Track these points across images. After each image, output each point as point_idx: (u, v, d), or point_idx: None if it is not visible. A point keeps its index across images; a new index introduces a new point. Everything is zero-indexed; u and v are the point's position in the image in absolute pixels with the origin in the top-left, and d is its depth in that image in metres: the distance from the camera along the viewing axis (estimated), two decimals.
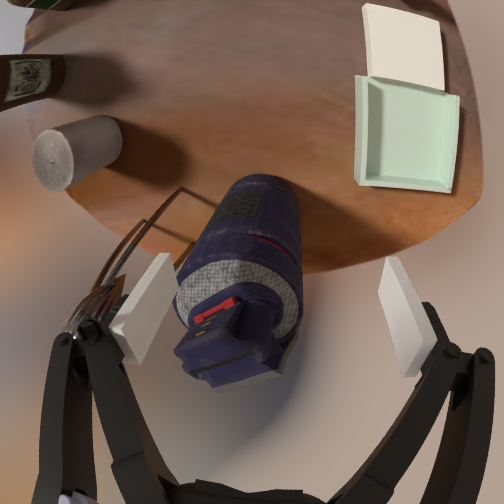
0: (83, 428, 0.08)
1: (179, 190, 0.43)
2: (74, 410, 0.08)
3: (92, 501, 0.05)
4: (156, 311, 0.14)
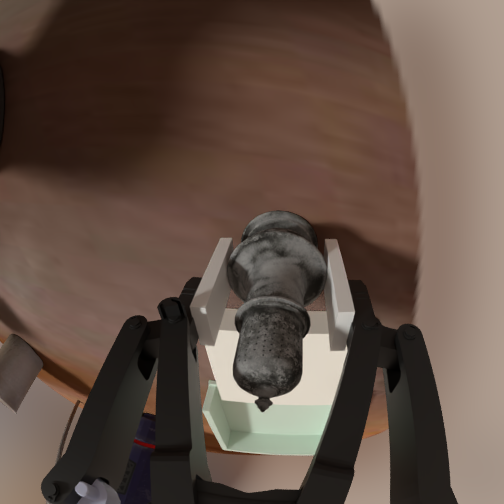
0: (130, 418, 0.09)
1: None
2: (126, 400, 0.09)
3: (112, 493, 0.05)
4: (224, 293, 0.16)
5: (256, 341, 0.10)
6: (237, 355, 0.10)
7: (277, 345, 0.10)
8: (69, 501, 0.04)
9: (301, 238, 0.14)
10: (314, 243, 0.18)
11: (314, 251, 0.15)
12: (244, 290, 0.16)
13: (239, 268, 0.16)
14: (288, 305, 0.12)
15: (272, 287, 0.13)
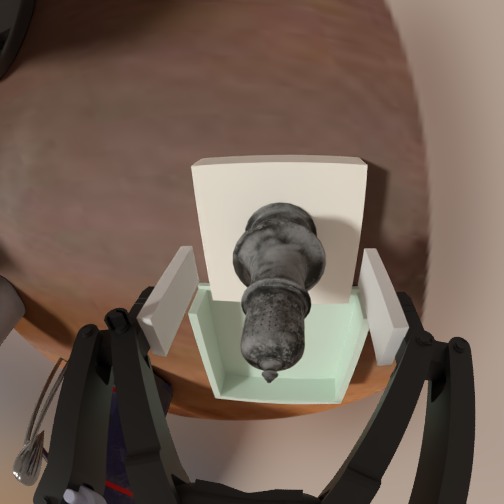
0: (98, 422, 0.08)
1: None
2: (92, 405, 0.08)
3: (99, 497, 0.05)
4: (180, 303, 0.15)
5: (262, 317, 0.12)
6: (245, 331, 0.12)
7: (282, 320, 0.11)
8: None
9: (302, 226, 0.16)
10: (314, 233, 0.19)
11: (314, 239, 0.16)
12: (249, 276, 0.17)
13: (244, 255, 0.17)
14: (291, 286, 0.13)
15: (276, 270, 0.14)
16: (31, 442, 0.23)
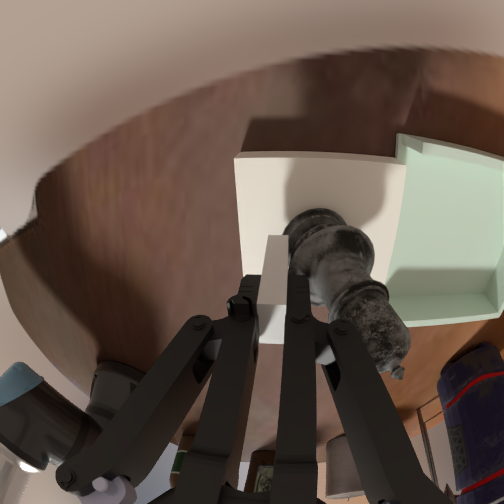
0: (171, 421, 0.09)
1: (419, 414, 0.36)
2: (172, 403, 0.09)
3: (131, 492, 0.06)
4: None
5: None
6: None
7: None
8: (82, 491, 0.05)
9: (295, 254, 0.15)
10: (314, 212, 0.18)
11: (309, 242, 0.15)
12: None
13: (319, 300, 0.17)
14: (338, 305, 0.12)
15: (327, 302, 0.14)
16: None
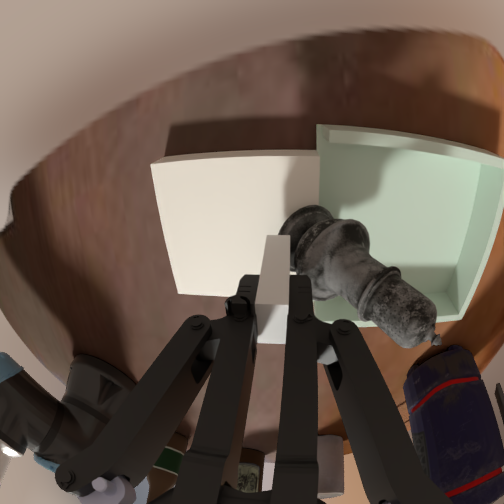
0: (170, 421, 0.09)
1: None
2: (171, 403, 0.09)
3: (130, 492, 0.06)
4: None
5: (390, 333, 0.12)
6: None
7: (397, 324, 0.11)
8: (82, 491, 0.05)
9: (307, 255, 0.15)
10: (306, 210, 0.18)
11: (320, 240, 0.15)
12: None
13: (328, 295, 0.17)
14: (368, 295, 0.13)
15: (350, 294, 0.14)
16: None
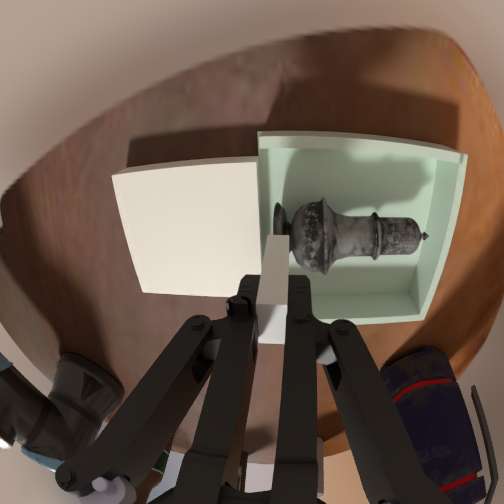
0: (171, 421, 0.09)
1: None
2: (171, 403, 0.09)
3: (131, 492, 0.06)
4: None
5: (405, 247, 0.18)
6: (406, 254, 0.18)
7: (409, 237, 0.17)
8: (82, 491, 0.05)
9: (327, 230, 0.17)
10: (278, 207, 0.20)
11: (327, 216, 0.18)
12: None
13: (330, 266, 0.20)
14: (381, 233, 0.18)
15: (365, 243, 0.18)
16: None
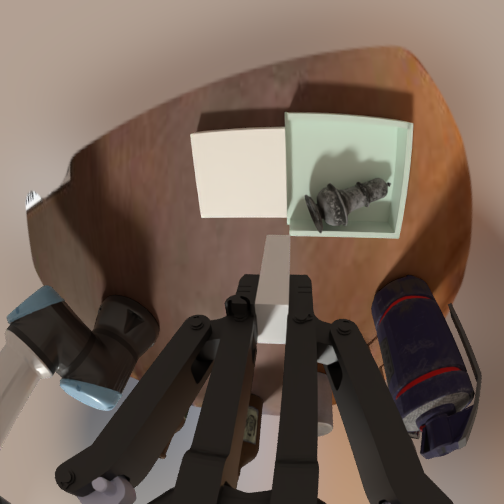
0: (170, 421, 0.09)
1: None
2: (171, 403, 0.09)
3: (130, 492, 0.06)
4: None
5: None
6: None
7: None
8: (81, 491, 0.05)
9: None
10: (319, 218, 0.32)
11: (347, 219, 0.32)
12: None
13: None
14: (369, 204, 0.33)
15: None
16: None
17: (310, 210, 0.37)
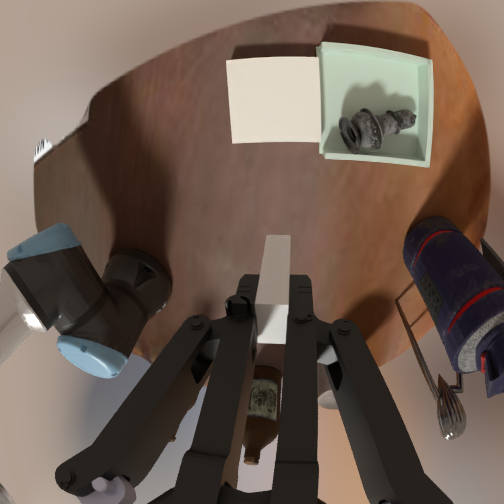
0: (170, 421, 0.09)
1: (397, 304, 0.48)
2: (171, 403, 0.09)
3: (130, 491, 0.06)
4: None
5: None
6: None
7: (410, 127, 0.30)
8: (81, 491, 0.05)
9: (382, 145, 0.30)
10: (357, 135, 0.29)
11: (382, 139, 0.29)
12: None
13: None
14: None
15: (391, 133, 0.31)
16: (433, 389, 0.32)
17: (343, 137, 0.34)
